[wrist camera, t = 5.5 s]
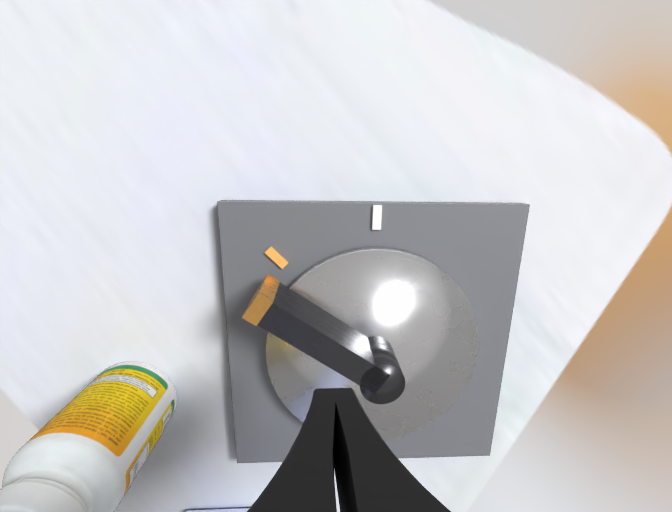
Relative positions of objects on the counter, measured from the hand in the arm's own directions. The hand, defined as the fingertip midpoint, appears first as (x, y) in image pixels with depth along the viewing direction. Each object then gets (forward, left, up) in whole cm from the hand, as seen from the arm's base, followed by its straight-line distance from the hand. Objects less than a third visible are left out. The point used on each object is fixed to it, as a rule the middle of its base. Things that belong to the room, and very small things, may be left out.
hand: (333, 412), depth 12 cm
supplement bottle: (-7, +13, -11) cm, 18 cm away
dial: (-2, -2, -9) cm, 10 cm away
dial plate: (-3, -3, -10) cm, 11 cm away
